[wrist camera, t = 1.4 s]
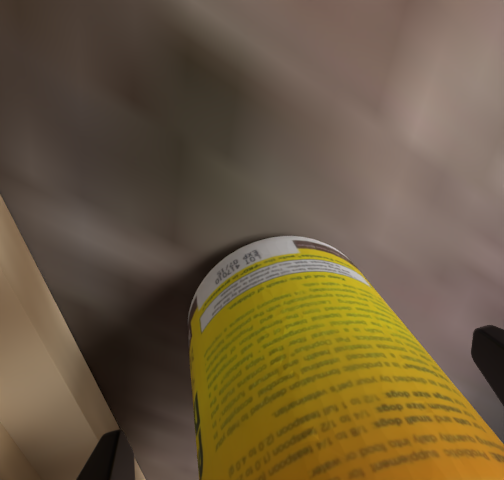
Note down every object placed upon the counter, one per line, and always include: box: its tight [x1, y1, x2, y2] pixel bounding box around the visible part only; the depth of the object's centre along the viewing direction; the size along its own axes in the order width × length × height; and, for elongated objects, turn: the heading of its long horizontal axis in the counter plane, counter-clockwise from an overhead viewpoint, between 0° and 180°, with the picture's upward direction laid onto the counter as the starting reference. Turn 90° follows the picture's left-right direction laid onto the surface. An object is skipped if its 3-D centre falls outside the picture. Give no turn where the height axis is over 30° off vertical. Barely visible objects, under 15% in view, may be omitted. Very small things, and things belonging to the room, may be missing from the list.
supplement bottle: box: [188, 236, 504, 480], centre depth 8 cm, size 6×6×10 cm
